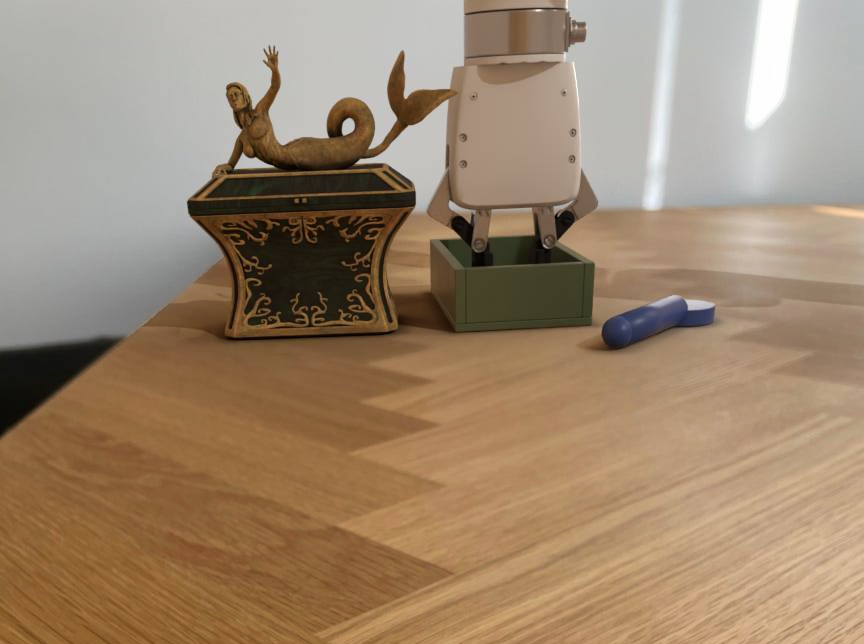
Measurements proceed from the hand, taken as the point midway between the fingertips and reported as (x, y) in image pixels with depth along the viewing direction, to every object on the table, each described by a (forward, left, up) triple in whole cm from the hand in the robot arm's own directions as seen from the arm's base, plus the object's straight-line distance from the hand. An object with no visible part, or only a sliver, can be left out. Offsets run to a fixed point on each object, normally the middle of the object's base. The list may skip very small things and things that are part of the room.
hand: (510, 298), depth 85 cm
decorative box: (+14, +2, -1) cm, 15 cm away
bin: (0, -3, -1) cm, 3 cm away
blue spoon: (-9, +10, -1) cm, 14 cm away
